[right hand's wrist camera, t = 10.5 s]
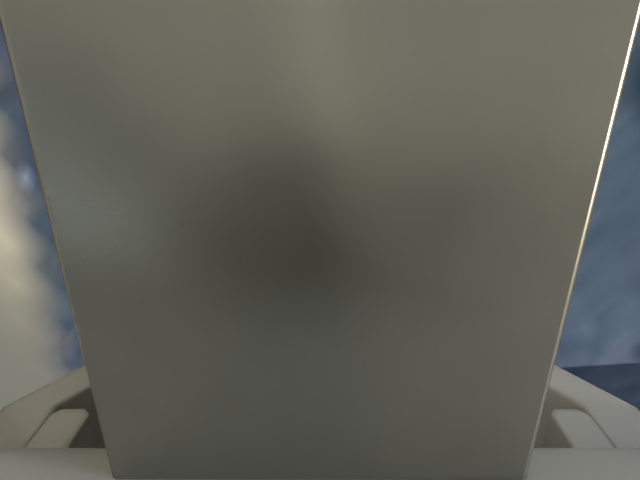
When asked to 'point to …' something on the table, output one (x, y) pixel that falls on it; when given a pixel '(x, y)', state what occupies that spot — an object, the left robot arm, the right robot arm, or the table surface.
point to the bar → (319, 222)
